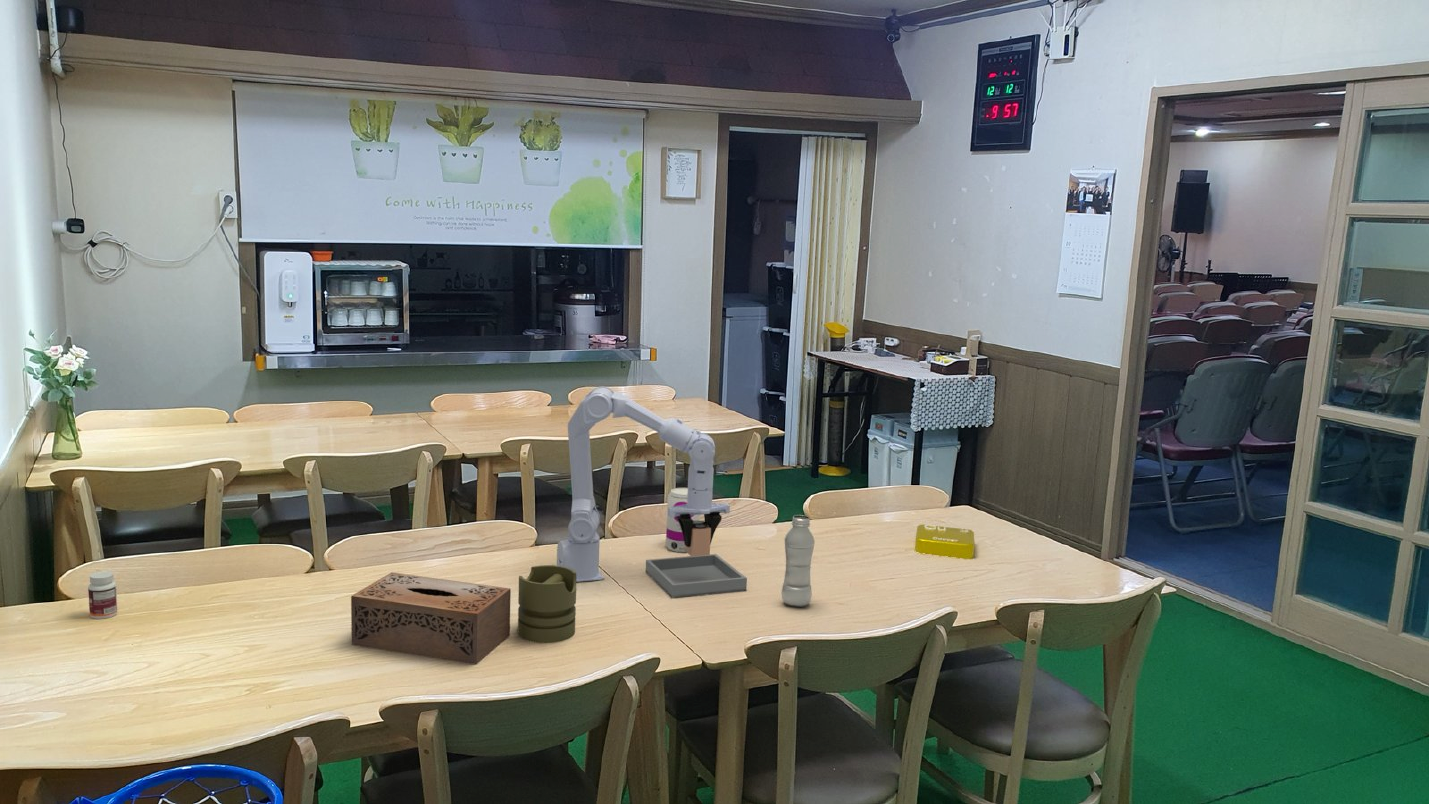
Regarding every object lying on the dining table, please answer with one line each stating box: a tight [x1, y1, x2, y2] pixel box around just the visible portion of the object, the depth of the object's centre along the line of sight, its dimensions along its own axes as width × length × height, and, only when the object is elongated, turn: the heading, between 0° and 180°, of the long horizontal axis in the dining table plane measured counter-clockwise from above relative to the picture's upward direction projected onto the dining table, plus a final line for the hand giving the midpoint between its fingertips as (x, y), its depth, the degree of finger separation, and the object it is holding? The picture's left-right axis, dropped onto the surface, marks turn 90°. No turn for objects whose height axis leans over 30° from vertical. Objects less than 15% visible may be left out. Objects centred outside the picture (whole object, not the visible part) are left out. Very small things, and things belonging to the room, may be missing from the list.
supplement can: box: [665, 487, 701, 553], centre depth 266 cm, size 8×8×15 cm
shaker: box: [685, 520, 711, 557], centre depth 241 cm, size 4×4×7 cm
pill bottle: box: [87, 570, 118, 620], centre depth 206 cm, size 5×5×8 cm
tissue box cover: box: [350, 571, 511, 665], centre depth 202 cm, size 26×14×10 cm, turn 77°
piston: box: [517, 564, 577, 644], centre depth 209 cm, size 11×12×11 cm
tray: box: [645, 553, 748, 599], centre depth 243 cm, size 18×18×3 cm
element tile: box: [914, 524, 975, 560], centre depth 278 cm, size 15×15×5 cm
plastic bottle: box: [781, 514, 816, 608], centre depth 230 cm, size 6×7×20 cm
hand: (697, 544), depth 241 cm, fingers closed on shaker, 4 cm apart
